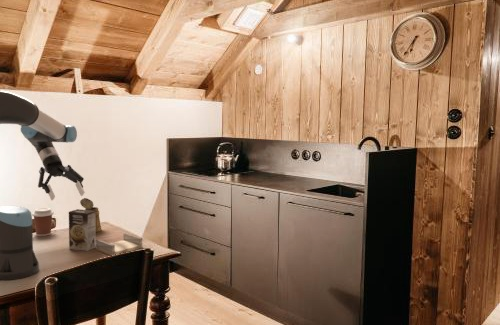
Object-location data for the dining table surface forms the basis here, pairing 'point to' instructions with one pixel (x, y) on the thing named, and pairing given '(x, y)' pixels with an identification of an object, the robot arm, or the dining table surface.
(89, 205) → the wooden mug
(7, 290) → the dining table surface
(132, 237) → the shallow rail tray
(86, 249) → the coffee box
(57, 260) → the dining table surface
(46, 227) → the coffee cup
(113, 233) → the dining table surface
